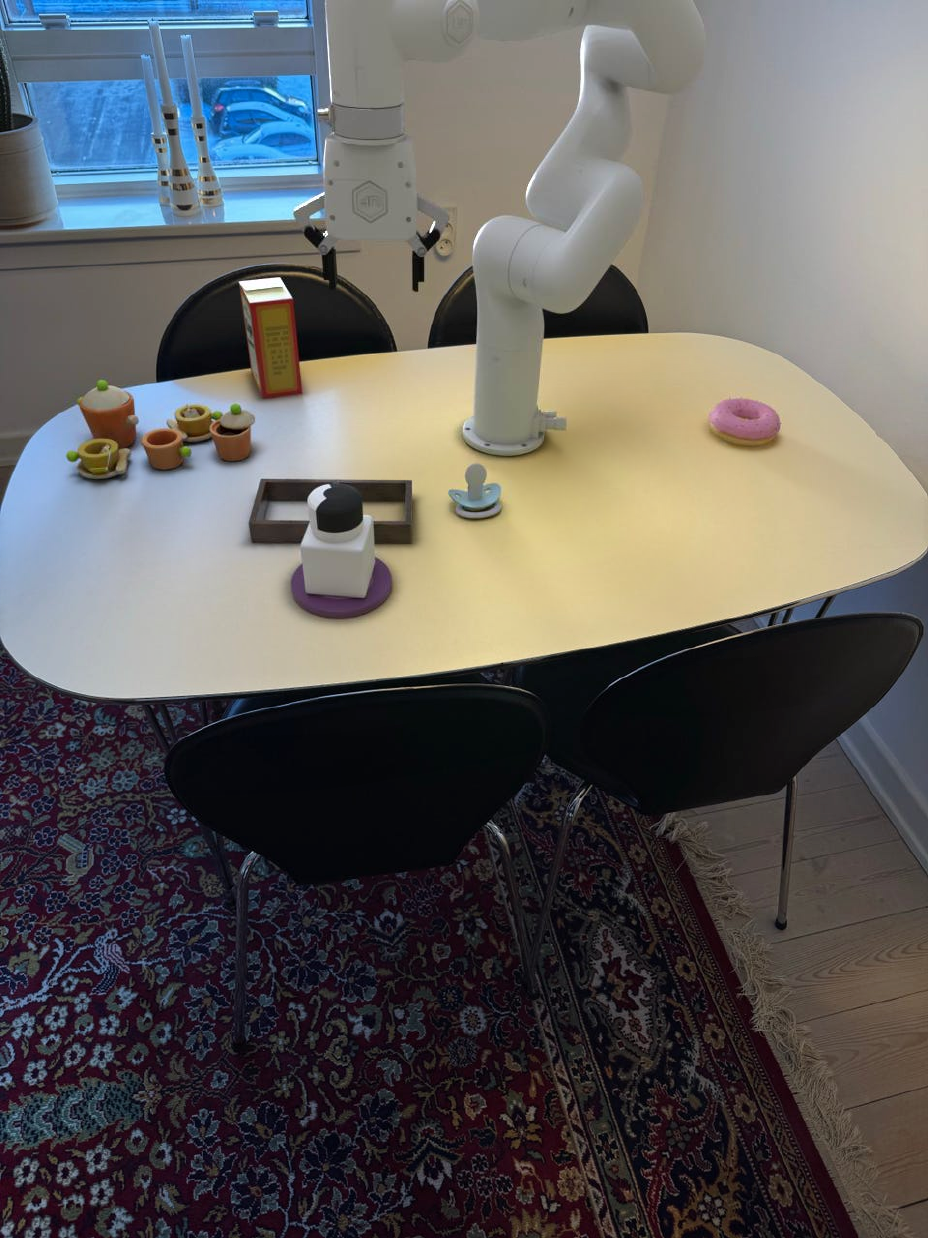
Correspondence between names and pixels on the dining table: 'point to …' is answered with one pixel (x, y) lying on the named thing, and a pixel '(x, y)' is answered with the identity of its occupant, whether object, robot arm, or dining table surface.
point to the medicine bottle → (338, 543)
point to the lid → (339, 604)
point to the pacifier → (477, 494)
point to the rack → (300, 492)
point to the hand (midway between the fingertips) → (374, 286)
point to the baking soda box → (271, 337)
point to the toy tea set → (153, 433)
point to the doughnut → (744, 421)
